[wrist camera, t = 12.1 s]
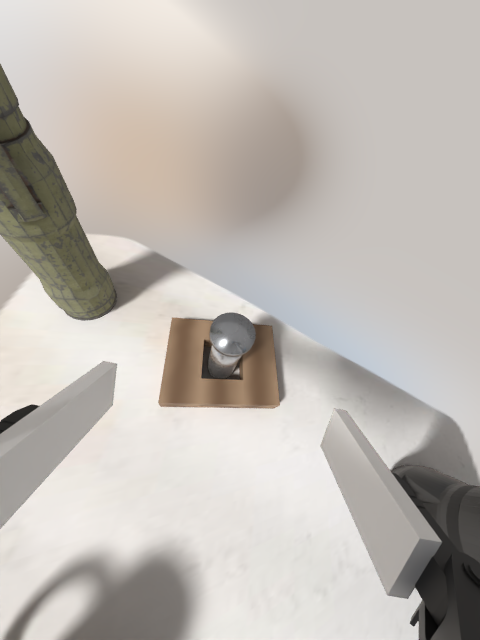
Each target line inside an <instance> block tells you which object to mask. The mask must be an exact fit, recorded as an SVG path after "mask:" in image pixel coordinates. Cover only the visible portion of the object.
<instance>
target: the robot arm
mask: <svg viewBox="0 0 480 640" xmlns="http://www.w3.org/2000/svg"><path fill="white" fill-rule="evenodd" d="M116 368H117V364H115V363H110V362H105V361H103V362H102V363H100V364H99V365H97V366H96V367H95V368H93V369H92V370H90V371H89V372H87V373H86V374H85V375H83V376H82V377H80V378H79V379H78V380H76V381H75V382H73V383H72V384H70V385H69V386H68V387H66V388H65V389H63V390H62V391H61V392H59V393H58V394H56V395H55V396H53V397H52V398H51V399H49V400H48V401H46V402H45V403H44V404H42V405H41V406H37V405H29V406H27V407H24V408H22V409H19V410H17V411H15V412H13V413H12V414H10V415H8V416H7V417H5V418H4V419H2V420H1V422H0V529H1V528H2V526H3V525H4V524H5V523H6V522H7V521H8V520H9V519H10V518H11V516H12V515H13V514H14V513H15V512H16V511H17V510H18V509H19V508H20V507H21V505H22V504H23V503H24V502H25V501H26V500H27V499H28V498H29V497H30V496H31V494H32V493H33V492H34V491H35V490H36V489H37V488H38V487H39V486H40V485H41V483H42V482H43V481H44V480H45V479H46V478H47V477H48V476H49V475H50V474H51V472H52V471H53V470H54V469H55V468H56V467H57V466H58V465H59V464H60V463H61V461H62V460H63V459H64V458H65V457H66V456H67V455H68V454H69V453H70V451H71V450H72V449H73V448H74V447H75V446H76V445H77V444H78V443H79V442H80V440H81V439H82V438H83V437H84V436H85V435H86V434H87V433H88V432H89V431H90V429H91V428H92V427H93V426H94V425H95V424H96V423H97V422H98V421H99V420H100V418H101V417H102V416H103V415H104V414H105V413H106V412H107V411H108V410H109V409H110V407H111V406H112V405H113V397H114V388H115V378H116ZM321 448H322V450H323V452H324V454H325V457H326V459H327V461H328V463H329V466H330V468H331V470H332V472H333V475H334V477H335V479H336V481H337V484H338V486H339V488H340V490H341V493H342V495H343V497H344V499H345V502H346V504H347V506H348V508H349V511H350V513H351V515H352V517H353V520H354V522H355V524H356V526H357V528H358V531H359V533H360V535H361V537H362V540H363V542H364V544H365V546H366V549H367V551H368V553H369V555H370V558H371V560H372V562H373V564H374V567H375V569H376V571H377V573H378V576H379V578H380V580H381V582H382V585H383V587H384V589H385V591H386V594H387V595H388V596H394V597H401V598H407V599H408V598H409V596H410V594H411V593H412V591H413V590H414V588H416V589H417V590H418V592H419V594H420V596H421V598H422V602H421V603H420V605H419V607H418V608H417V610H416V611H415V613H414V614H413V616H412V618H411V621H410V624H411V625H412V626H415V624H416V623H417V621H419V640H480V487H479V486H471V485H468V484H466V483H464V482H461V481H459V480H457V479H455V478H452V477H450V476H448V475H446V474H443V473H441V472H439V471H437V470H434V469H432V468H428V467H424V466H413V465H405V466H400V467H398V468H396V469H394V470H393V471H392V472H391V471H390V470H389V469H388V467H387V466H386V464H385V463H384V462H383V460H382V459H381V458H380V456H379V455H378V453H377V452H376V451H375V449H374V448H373V447H372V445H371V444H370V442H369V441H368V440H367V438H366V437H365V436H364V434H363V433H362V431H361V430H360V429H359V427H358V426H357V425H356V423H355V422H354V421H353V419H352V418H351V416H350V415H349V414H348V412H347V411H345V410H340V409H335V408H334V411H333V413H332V416H331V419H330V421H329V424H328V427H327V429H326V432H325V435H324V437H323V440H322V443H321Z"/></svg>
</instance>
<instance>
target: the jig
mask: <svg viewBox="0 0 480 640" xmlns="http://www.w3.org/2000/svg"><path fill="white" fill-rule="evenodd" d="M212 323H213V321H207V320H195V319H183V318H172V321H171V327H170V334H169V340H168V346H167V352H166V359H165V365H164V371H163V377H162V384H161V390H160V396H159V402H158V403H159V405H160V406H161V407H219V408H275V407H277V406H279V405H280V402H279V392H278V381H277V371H276V361H275V351H274V341H273V330H272V326H268V325H256V324H253V326H254V328H255V333H256V337H255V341H254V344H253V345H252V347H251V349H250V350H249V351H248V352H247V353H245V354H244V355H242V356H241V358H240V359H239V370H240V380H230V379H203V378H201V374H202V360H203V347H204V346H205V347H212V344H211V342H210V337H209V334H210V327H211V324H212Z"/></svg>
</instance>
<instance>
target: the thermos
mask: <svg viewBox="0 0 480 640" xmlns="http://www.w3.org/2000/svg"><path fill="white" fill-rule="evenodd" d="M18 105H19V103H18V99H17V97H16V95H15V93H14V91H13V89H12V87H11V85H10V83H9V81H8V78H7V76H6V75H5V72H4V70H3V68H2V66H1V64H0V235H1V236H2V237H3V238H4V239H5V240H6V241H7V242H8V244H9V245H10V246H11V247H12V248H13V249H14V250H15V252H16V253H17V254H18V255H19V256H20V257H21V258H22V260H23V261H24V262H25V263H26V264H27V265H28V266H29V268H30V269H31V270H32V271H33V272H34V273H35V274H36V276H37V277H38V278H39V279H40V281H41V283H42V285H43V288H44V290H45V292H46V293H47V294H48V295H49V297H50V298H51V299H52V300H53V301H54V302H55V303H56V304H57V305H58V306H59V308H61V309H63V310H64V311H65V312H66V314H67V315H69V316H70V317H72V318H74V319H78V320H93V319H96V318H100V317H102V316H103V315H105V314H107V313H108V312H109V311H110V310H111V309H112V308H113V307H114V305H115V303H116V298H117V295H116V292H115V290H114V287H113V284H112V281H111V279H110V277H109V275H108V272H107V270H106V269H105V268H104V267H103V266H102V265H101V264H100V263H99V262H98V260H97V258H96V256H95V254H94V251H93V249H92V247H91V245H90V243H89V241H88V239H87V237H86V235H85V233H84V231H83V229H82V227H81V225H80V223H79V221H78V218H77V217H76V206H75V203H74V200H73V198H72V196H71V194H70V192H69V190H68V188H67V185H66V183H65V181H64V179H63V177H62V175H61V173H60V170H59V168H58V166H57V164H56V162H55V160H54V158H53V156H52V155H51V154H50V152H49V151H48V150H47V149H46V147H45V146H44V145H43V144H42V143H41V141H40V140H39V139H38V138H37V137H36V135H35V133H34V131H33V129H32V127H31V125H30V123H29V122H28V120H27V119H26V118H25V117H23V115H22V113H21V111H20V109H19V107H18Z"/></svg>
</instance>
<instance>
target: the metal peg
mask: <svg viewBox="0 0 480 640" xmlns="http://www.w3.org/2000/svg"><path fill="white" fill-rule="evenodd" d="M209 337H210V342H211V344H212V347H211V352H210V356H209V361H208V370H209V372H210V373H211V375H212V376H214V377H215V378H218V379H224V378H227V377H229V376H230V375H231V374H232V372H233V371H234V369H235V367H236V365H237V363H238V361H239V359H240V358H241V356H242V355H244V354H245V353H247V352H248V351H249V350H250V349H251V347H252V345H253V344H254V341H255V337H256V333H255V328H254V326H253V324H252V323H251V322H250V321H249V319H247V318H246V317H245V316H243V315H240V314H237V313H225V314H222V315H220V316H218V317H217V318H216V319H215V320H214V321H213V323H212V324H211V327H210V334H209Z"/></svg>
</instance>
